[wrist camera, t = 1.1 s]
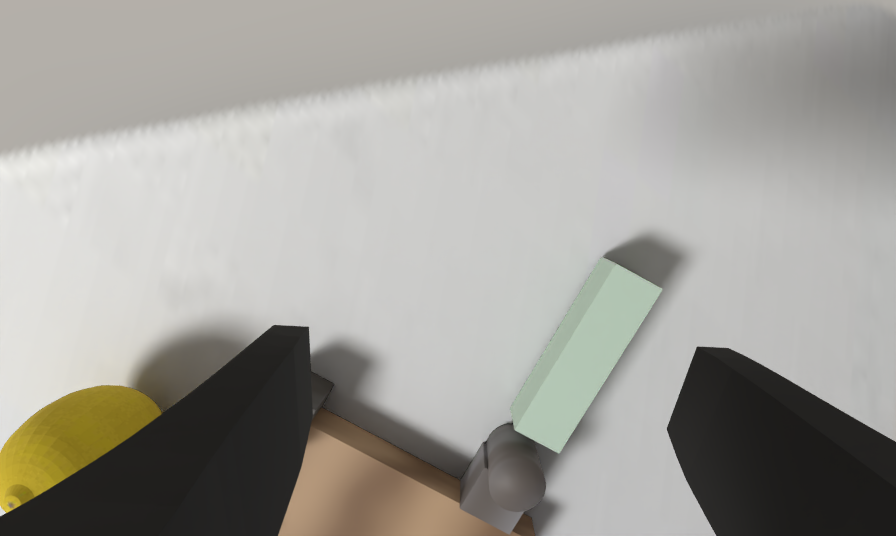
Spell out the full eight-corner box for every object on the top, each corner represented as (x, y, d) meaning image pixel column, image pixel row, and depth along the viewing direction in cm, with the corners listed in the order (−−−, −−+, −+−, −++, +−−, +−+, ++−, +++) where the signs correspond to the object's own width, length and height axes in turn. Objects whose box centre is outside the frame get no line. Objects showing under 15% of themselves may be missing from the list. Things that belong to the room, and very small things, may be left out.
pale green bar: (550, 429, 25) (559, 453, 23) (510, 407, 25) (514, 430, 23) (643, 280, 24) (663, 289, 22) (601, 256, 24) (615, 263, 22)
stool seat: (572, 453, 26) (594, 507, 21) (451, 642, 28) (449, 728, 23) (303, 309, 25) (268, 334, 21) (199, 513, 27) (147, 575, 23)
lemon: (76, 408, 27) (-89, 498, 19) (143, 342, 26) (1, 407, 18) (149, 479, 27) (19, 596, 19) (217, 417, 26) (111, 512, 18)
